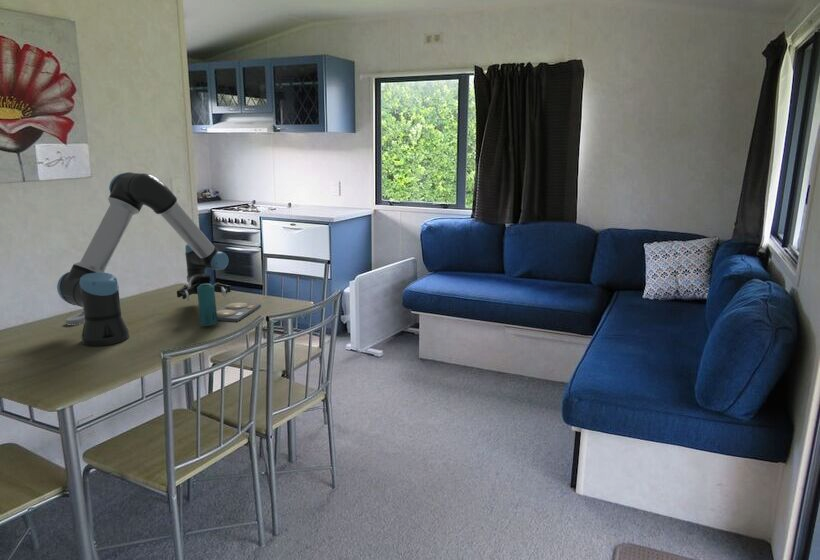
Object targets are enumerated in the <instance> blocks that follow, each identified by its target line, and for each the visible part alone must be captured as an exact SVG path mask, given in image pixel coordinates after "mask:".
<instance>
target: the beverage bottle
mask: <svg viewBox="0 0 820 560" xmlns="http://www.w3.org/2000/svg"><path fill="white" fill-rule="evenodd" d="M211 280H212V279H211V275H209V274H206V275H202V276H199V282H210V284H209V283H206V284H200V285H199V286H198V287H197V292H198V294H197V299H198V300H197V301H198V304H197V305H198V315H199V322H200V325H201V326H212V325H215V324H218V321H217V312H216V310H217V301H216V294H215V293H216V292H215V291H214V286H213V285H214V284H213V283H211ZM212 284H213V285H212Z"/></svg>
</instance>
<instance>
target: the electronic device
mask: <svg viewBox="0 0 820 560" xmlns="http://www.w3.org/2000/svg"><path fill="white" fill-rule="evenodd" d="M84 321H85V317H84V311H82V312H79V313H77V314H74V315H72V316H70V317H67V318H66V319H65V323H66V325H67V324H71V325H72V324H73V325H74V324H79V323H82V322H84ZM84 323H85V322H84ZM82 324H83V323H82ZM79 325H80V324H79ZM74 326H75V325H74Z"/></svg>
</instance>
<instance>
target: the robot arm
mask: <svg viewBox="0 0 820 560" xmlns="http://www.w3.org/2000/svg"><path fill="white" fill-rule="evenodd" d="M108 187H109V189H108V190H109V191H110V192H109V197H107V198H108V203H109V206H108V208H107V209H106V212H105V214H104V215H103V217H102V218H101V219H102V220H101V221H100V222H99V226H98V228H97V229H96V231H95V233H94V235H93V237H92V239H91V240H90V242H89V244H88V246H87V248H86V250H85V252H84V254H83V256H82V258H81V259H80V261H79V262H78V261H77V262H75V263H73V265H72V266H71V268H70V271H68V272H65V273H64V274H62V275H61V276H60V277H59V278H58V281H57V285H56V288H57V293H58V295H59V297H60V298H61V299H62V301H64V302H66V303H68V304H69V305H72V306H77V307H81V308H83V312H84V317H85V322H84V323H83V328H82V333H81V343H82V344H83V345H84V346H88V347H102V346H110V345H115V344H118V343H122V342H124V341H125V340H128V339H129V338H130V330H129V329H128V327H127V325H126V323H125V321H124V318H123V317H122V312H121V311H122V309H121V308H122V307H121V300H120V291H119V288H120V286H119V283H118V278H117V277H116V276H115V275H114V274H112V273H108V272H105V271H106V269H107V266H108V264H109V263H110V261H111V260H112V257H113V255H114V253H115V251H116V249H117V247H118V246H119V244H120V242H121V239H122V237H123V235H124V233H125V232H126V229H127V227H128V225H129V223H130V222H131V220H132V218H133V216H134V215H137V214H139V213H140V212H141V209H142V207H143V205H144V206H146V207H148V208H149V209H151V210H152V211H153V212H154V213H155V214H157V215H160V216H161V217H162V218H163V219H164V221H166V222H167V223H168V224H169V226H170V227H171V228H172V230H174V231H175V232H176V234H177V235H178V236H180V238H181V239H182V240H183V241H184V242H185V243H186V245H185V261H186V273H187V275H186V282H187V283H188V285H186V284H185V285H183V287H181V288H179V289H178V290H176V296H177V297H176V298H182V300H186V301H187V302H190V296H191V295H198V292H197V287H198V286H199V285H200V284H206V283H209V284H212V285H213V286H214V291H215V293H221V295H222V296H223V297H224V298H227V294H228V293H231V285H228V284H225V283H224V284H223V283H220V282H215V283H214V284H213V283H211V281H210V282H199V276H202V275H207V271H206V270H207V269H211V270H214V271H216V270H217V271H222V270H225V269H226V268H227V267H228V265H229V262H230V261H229V257H228V254H227V253H225V252H223V251H219V250H218V249H217V247H215V245H214V244H213V243H212V242H211V241H210V240H209V238H208V237H207V236H206V235H205V234H204V232H203V231H202V230H201V229H200V228H199V226H198V225H197V224H196V223H195V222H194V220H193V219H192V218H191V217H190V216H189V215H188V214H187V212H186V211H185V210H184V209H183V208H182V207H181V205H180V204H179V203H178V198H177V197H176V196H175V194H174V193H173V192H172V190H170V188H168V187H167V185H166V184H165V183H164V182H162V180H160V179H159V178H157V176H154V175H152V174H150V173H145V172H144V173H141V172H138V173H136V172H128V171H127V172H122V173H119V174H117V175H115V176H114V177H113V178H111V181H110V183H109V186H108Z"/></svg>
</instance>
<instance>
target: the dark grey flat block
mask: <svg viewBox="0 0 820 560" xmlns="http://www.w3.org/2000/svg"><path fill="white" fill-rule="evenodd" d="M261 307H262V304H261V303H250V302H249V303H246V302H229V303H227V304H225V305H223V306H221V307H220V308H217V309H216V312H217V320H221V322H236V321H238V322H240V321H241V320H242V318H243V319H244V318H245V316H246V317H247V316H249V315H251V314H252V313H253V311H254V312H255V311H257V310H258V309H260V308H261ZM256 309H257V310H256ZM251 312H252V313H251ZM248 314H249V315H248ZM239 320H240V321H239Z"/></svg>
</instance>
